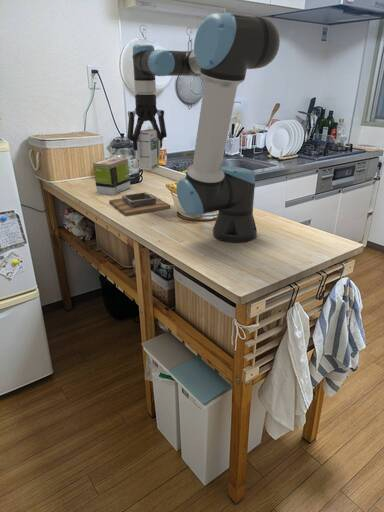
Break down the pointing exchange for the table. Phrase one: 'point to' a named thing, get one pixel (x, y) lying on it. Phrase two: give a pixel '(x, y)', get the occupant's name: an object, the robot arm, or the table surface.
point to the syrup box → (148, 149)
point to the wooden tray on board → (138, 204)
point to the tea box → (112, 175)
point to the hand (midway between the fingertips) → (148, 157)
